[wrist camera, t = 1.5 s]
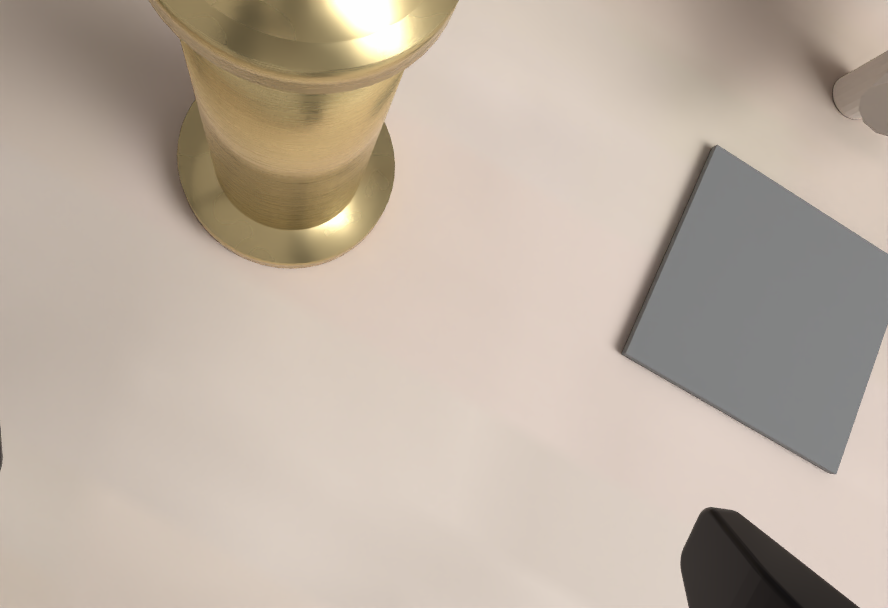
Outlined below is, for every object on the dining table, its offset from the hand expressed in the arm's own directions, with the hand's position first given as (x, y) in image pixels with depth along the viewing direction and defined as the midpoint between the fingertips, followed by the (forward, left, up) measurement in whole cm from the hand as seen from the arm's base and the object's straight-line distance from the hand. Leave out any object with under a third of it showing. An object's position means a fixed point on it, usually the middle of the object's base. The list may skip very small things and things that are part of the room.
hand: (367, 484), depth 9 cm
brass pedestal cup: (+7, +5, -12) cm, 15 cm away
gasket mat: (+11, -12, -12) cm, 21 cm away
